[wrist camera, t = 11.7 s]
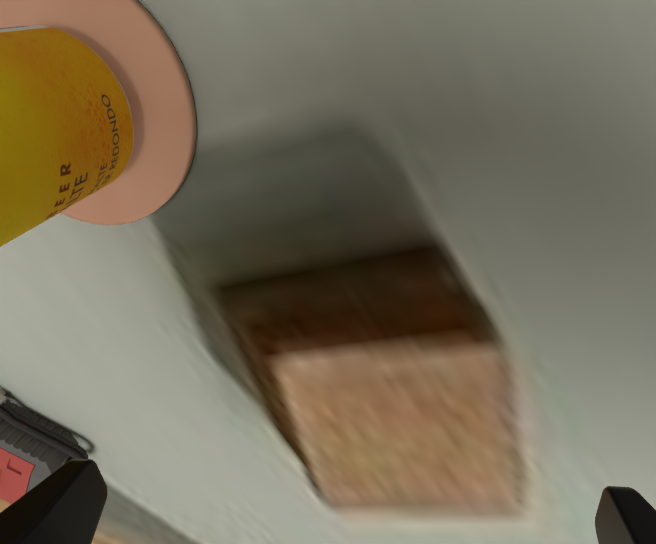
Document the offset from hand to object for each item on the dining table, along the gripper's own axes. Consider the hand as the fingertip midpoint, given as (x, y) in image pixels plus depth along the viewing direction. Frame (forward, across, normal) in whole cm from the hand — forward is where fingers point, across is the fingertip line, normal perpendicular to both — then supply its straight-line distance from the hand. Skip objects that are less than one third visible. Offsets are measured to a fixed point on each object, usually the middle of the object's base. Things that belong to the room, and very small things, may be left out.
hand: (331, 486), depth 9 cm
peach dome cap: (+14, +12, -4) cm, 19 cm away
